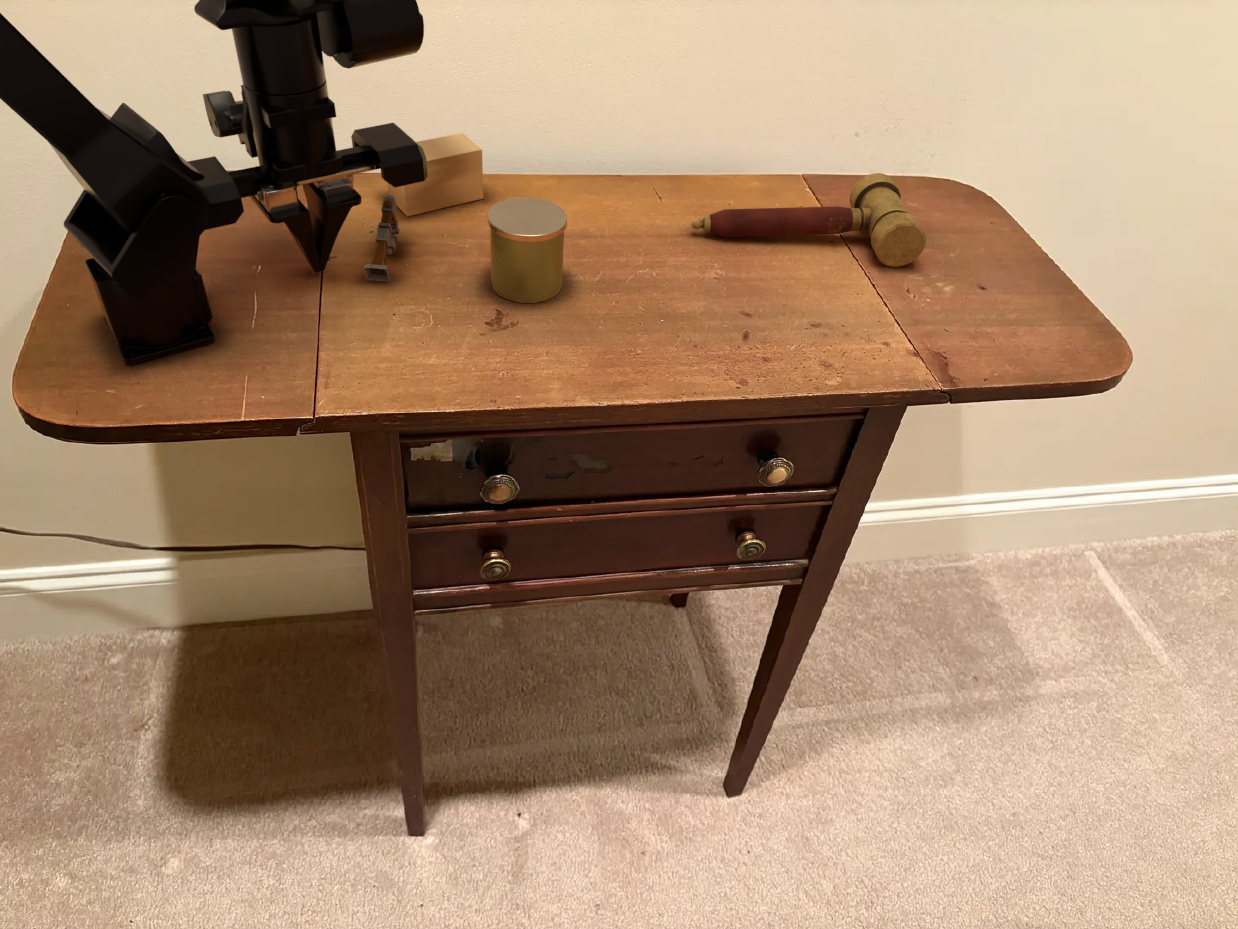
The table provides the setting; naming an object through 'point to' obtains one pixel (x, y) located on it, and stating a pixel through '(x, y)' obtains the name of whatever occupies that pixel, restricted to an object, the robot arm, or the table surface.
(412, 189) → the birch block
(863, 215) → the gavel
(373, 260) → the wooden lantern post
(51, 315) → the table surface
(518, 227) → the enamel tin
